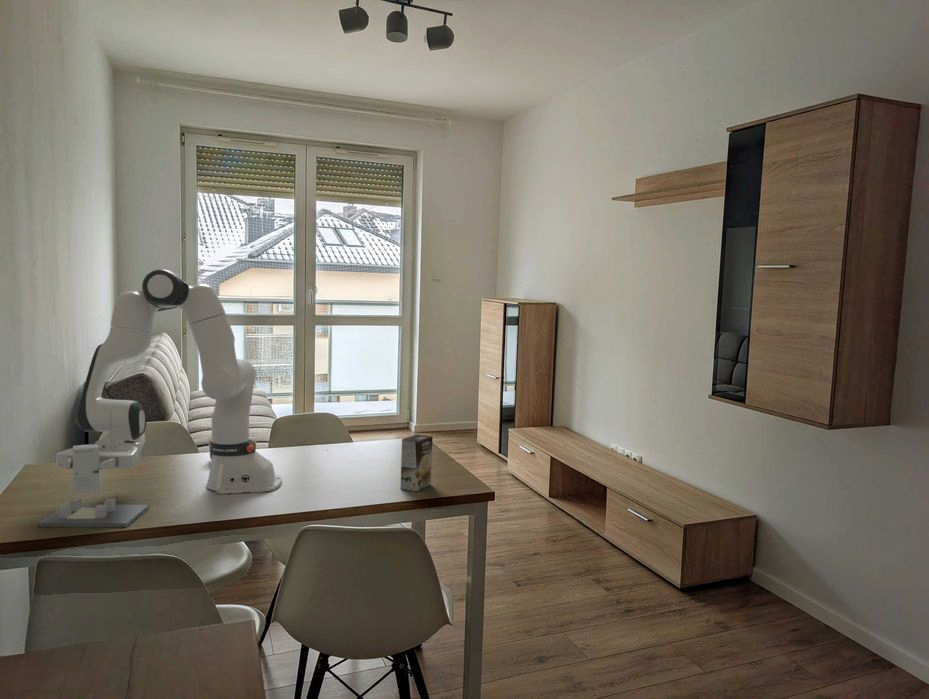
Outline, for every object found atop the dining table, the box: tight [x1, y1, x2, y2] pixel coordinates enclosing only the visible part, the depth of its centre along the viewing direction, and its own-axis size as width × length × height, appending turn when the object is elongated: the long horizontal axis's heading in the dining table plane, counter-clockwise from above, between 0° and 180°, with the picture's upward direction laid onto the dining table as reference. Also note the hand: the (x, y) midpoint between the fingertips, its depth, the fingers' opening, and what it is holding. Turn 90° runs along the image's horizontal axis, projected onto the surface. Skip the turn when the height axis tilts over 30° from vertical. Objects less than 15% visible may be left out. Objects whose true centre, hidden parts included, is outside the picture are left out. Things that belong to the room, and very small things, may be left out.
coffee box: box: [400, 434, 433, 492], centre depth 208 cm, size 9×6×16 cm
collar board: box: [37, 497, 150, 528], centre depth 175 cm, size 22×14×4 cm, turn 94°
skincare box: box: [72, 443, 100, 495], centre depth 173 cm, size 6×4×12 cm
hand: (84, 466), depth 172 cm, fingers closed on skincare box, 7 cm apart
